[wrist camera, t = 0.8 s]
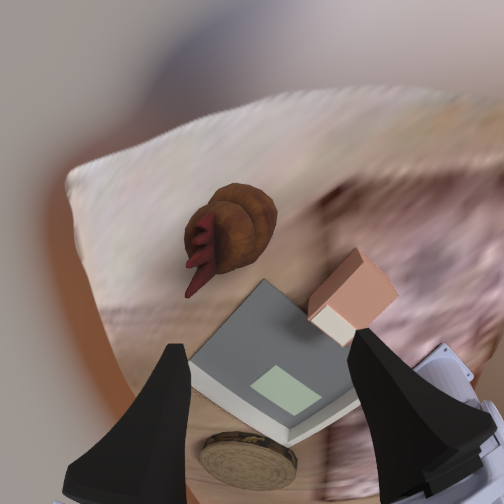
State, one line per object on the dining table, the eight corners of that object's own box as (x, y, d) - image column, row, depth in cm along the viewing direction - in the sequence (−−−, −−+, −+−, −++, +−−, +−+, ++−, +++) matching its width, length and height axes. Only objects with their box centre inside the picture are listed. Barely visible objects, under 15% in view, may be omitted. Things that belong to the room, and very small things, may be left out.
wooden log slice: (290, 429, 35) (288, 445, 33) (302, 479, 39) (300, 491, 36) (192, 426, 40) (185, 439, 37) (220, 475, 43) (216, 486, 40)
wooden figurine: (264, 259, 29) (214, 338, 15) (212, 236, 30) (127, 292, 16) (290, 196, 27) (261, 223, 13) (235, 173, 28) (154, 178, 13)
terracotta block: (386, 275, 27) (399, 296, 22) (340, 321, 29) (342, 348, 24) (356, 246, 27) (364, 262, 22) (309, 296, 29) (307, 320, 24)
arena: (379, 371, 30) (383, 387, 27) (290, 432, 35) (287, 447, 32) (264, 278, 30) (258, 289, 27) (187, 362, 35) (178, 375, 32)
